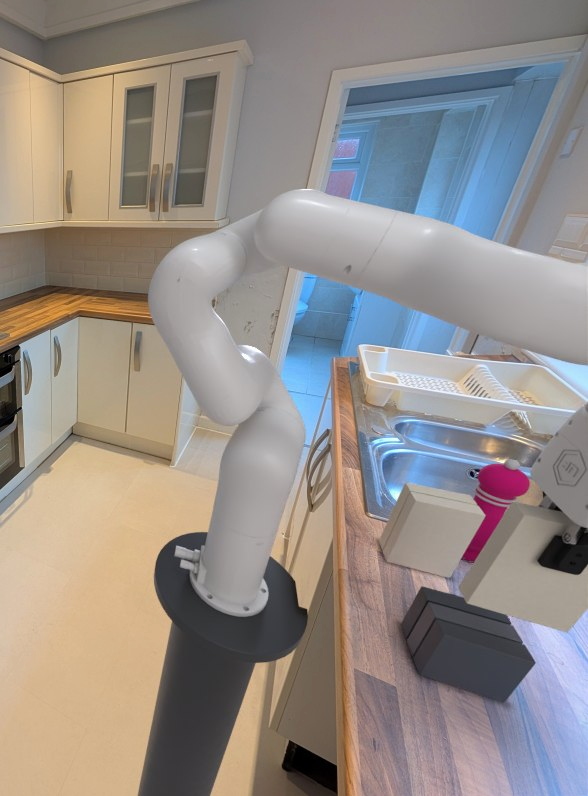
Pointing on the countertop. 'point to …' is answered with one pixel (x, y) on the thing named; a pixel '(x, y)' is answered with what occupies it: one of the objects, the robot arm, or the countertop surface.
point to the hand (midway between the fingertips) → (548, 556)
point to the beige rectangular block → (430, 529)
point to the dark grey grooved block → (465, 645)
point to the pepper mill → (495, 499)
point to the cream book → (526, 571)
